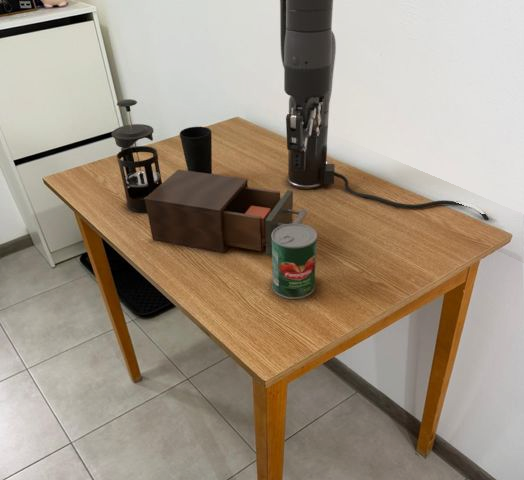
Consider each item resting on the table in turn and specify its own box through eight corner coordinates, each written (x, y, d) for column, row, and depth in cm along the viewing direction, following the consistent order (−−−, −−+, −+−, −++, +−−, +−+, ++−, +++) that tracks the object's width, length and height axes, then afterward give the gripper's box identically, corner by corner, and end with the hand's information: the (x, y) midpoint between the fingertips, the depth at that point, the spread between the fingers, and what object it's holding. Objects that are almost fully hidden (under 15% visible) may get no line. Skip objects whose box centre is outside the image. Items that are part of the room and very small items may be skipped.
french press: (175, 205, 119) (159, 101, 104) (140, 218, 115) (117, 112, 100) (150, 188, 126) (132, 89, 111) (116, 200, 122) (92, 99, 106)
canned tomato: (294, 269, 98) (295, 218, 91) (323, 287, 94) (326, 234, 86) (263, 286, 95) (261, 234, 87) (292, 305, 90) (293, 252, 83)
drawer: (310, 227, 108) (312, 193, 103) (291, 260, 99) (291, 224, 94) (227, 214, 114) (224, 180, 108) (201, 243, 105) (197, 209, 99)
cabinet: (249, 219, 113) (247, 178, 107) (223, 253, 103) (219, 210, 97) (183, 209, 118) (178, 169, 111) (152, 240, 108) (144, 198, 101)
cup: (214, 186, 126) (209, 137, 118) (184, 187, 126) (177, 138, 118) (217, 173, 132) (212, 126, 124) (188, 174, 132) (181, 126, 124)
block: (271, 227, 106) (271, 208, 104) (264, 237, 104) (263, 218, 101) (252, 224, 108) (251, 205, 105) (244, 234, 105) (243, 215, 102)
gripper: (316, 74, 75) (312, 182, 86) (342, 51, 84) (335, 151, 96) (269, 70, 77) (271, 176, 88) (300, 48, 87) (297, 147, 98)
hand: (304, 163), depth 92 cm, fingers open, 6 cm apart
